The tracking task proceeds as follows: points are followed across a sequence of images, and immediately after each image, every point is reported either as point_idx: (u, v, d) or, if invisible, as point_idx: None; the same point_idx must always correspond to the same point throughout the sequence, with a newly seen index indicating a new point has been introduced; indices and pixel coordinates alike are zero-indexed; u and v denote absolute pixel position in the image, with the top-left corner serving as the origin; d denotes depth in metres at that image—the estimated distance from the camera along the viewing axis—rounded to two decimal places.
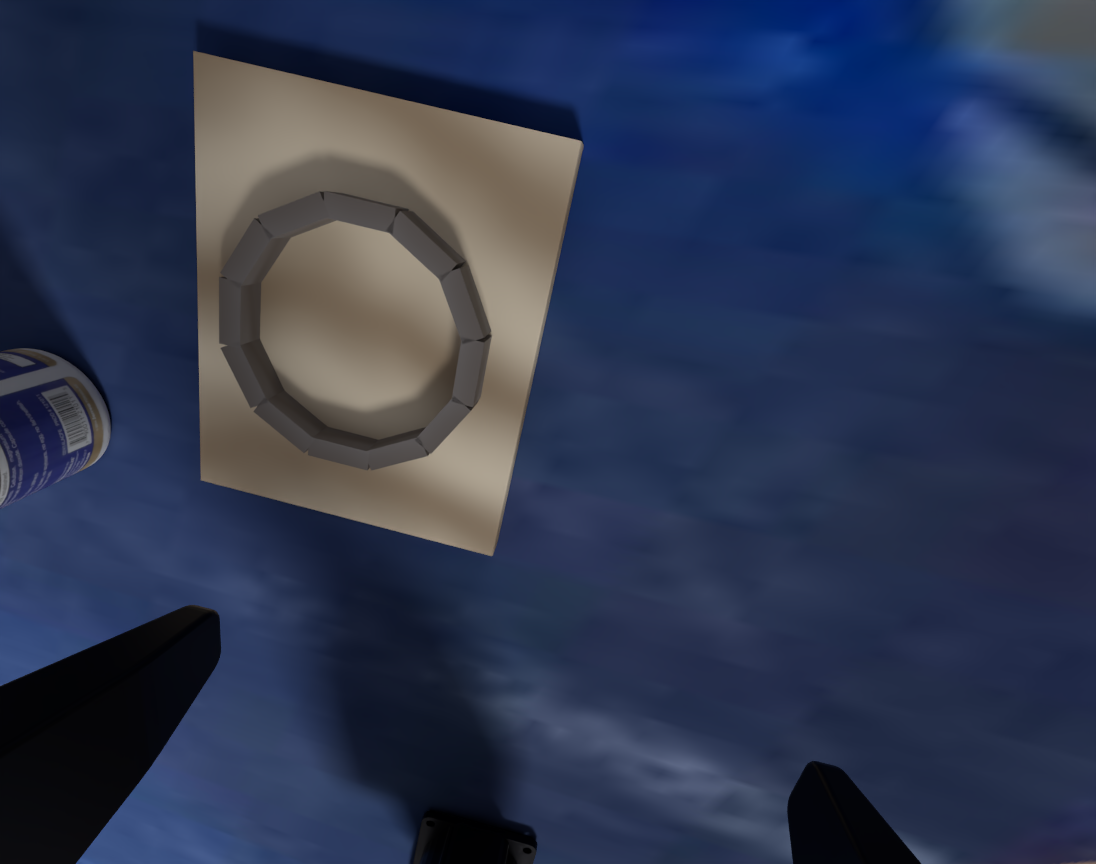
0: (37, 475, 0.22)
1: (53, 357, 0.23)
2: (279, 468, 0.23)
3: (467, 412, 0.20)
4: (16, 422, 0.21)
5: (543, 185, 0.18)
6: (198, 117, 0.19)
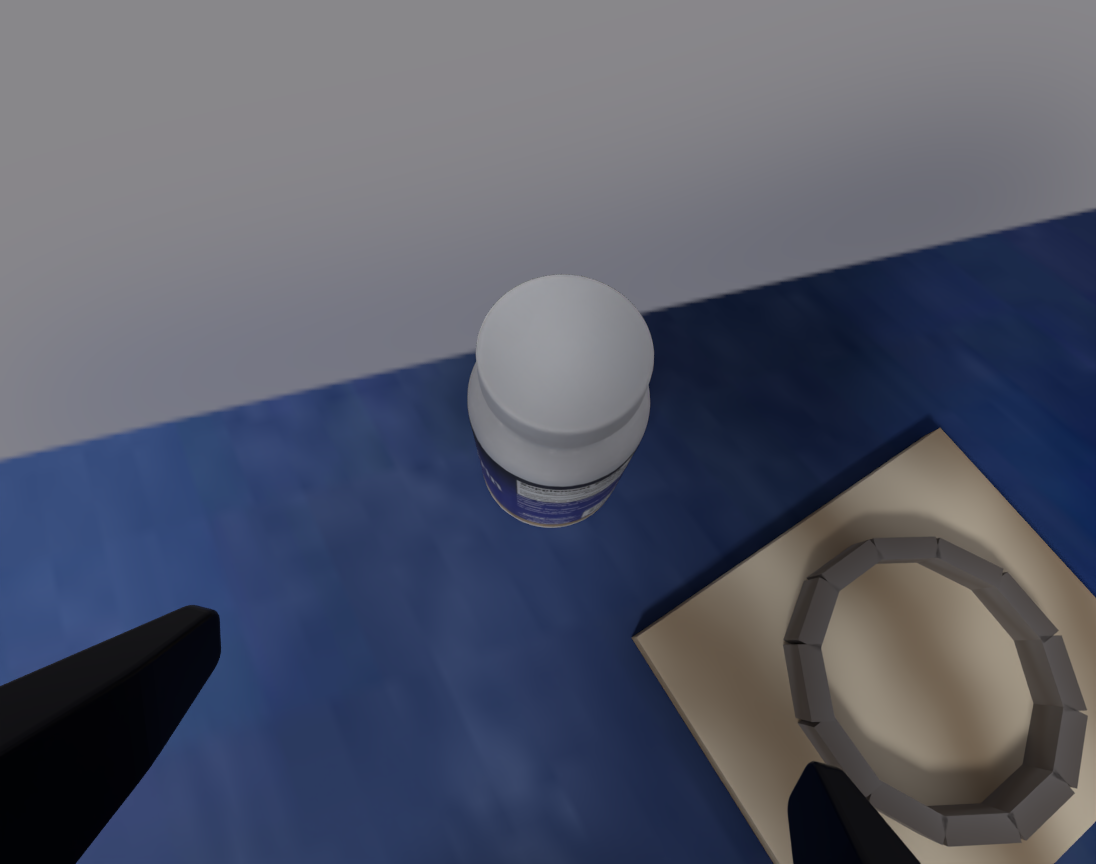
0: (574, 508, 0.19)
1: None
2: (729, 702, 0.20)
3: (1017, 841, 0.17)
4: None
5: None
6: (905, 450, 0.24)
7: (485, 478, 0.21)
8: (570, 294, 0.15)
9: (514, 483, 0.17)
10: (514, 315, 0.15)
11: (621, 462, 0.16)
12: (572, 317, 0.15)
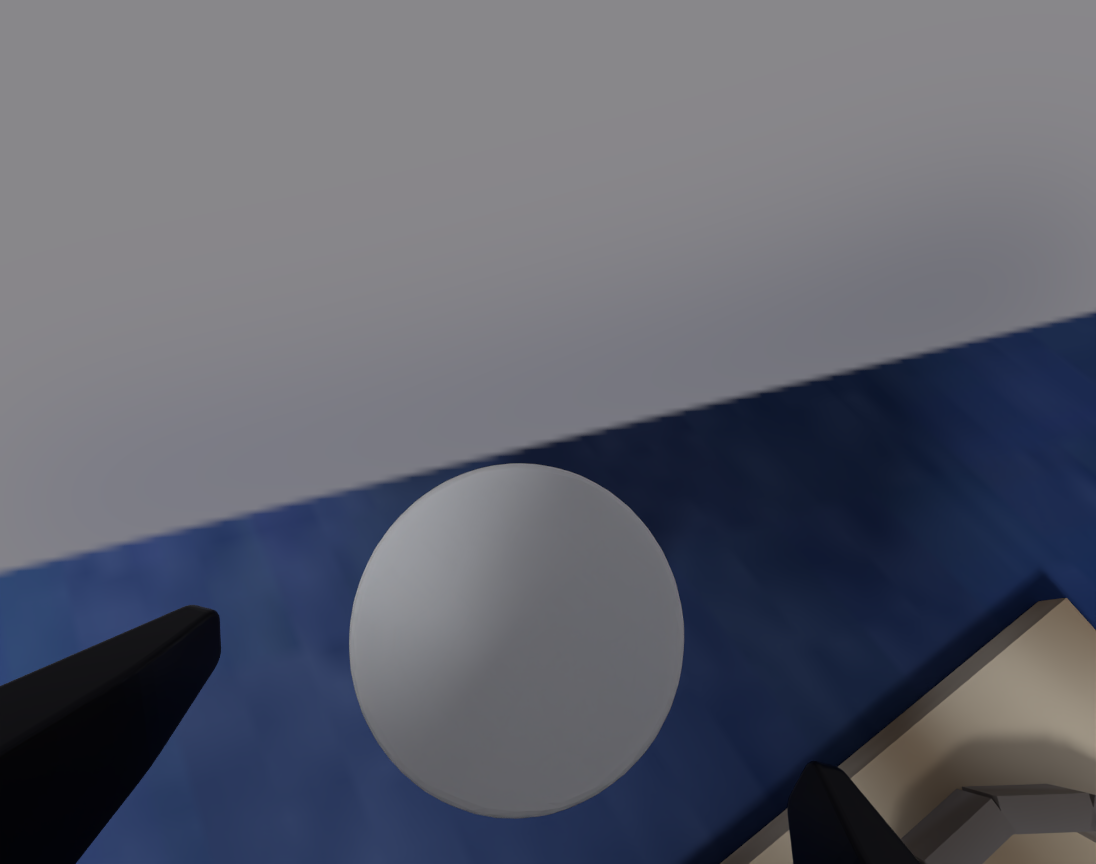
0: None
1: None
2: None
3: None
4: None
5: None
6: (1020, 632, 0.17)
7: None
8: (532, 505, 0.08)
9: None
10: (427, 549, 0.08)
11: None
12: (534, 552, 0.08)
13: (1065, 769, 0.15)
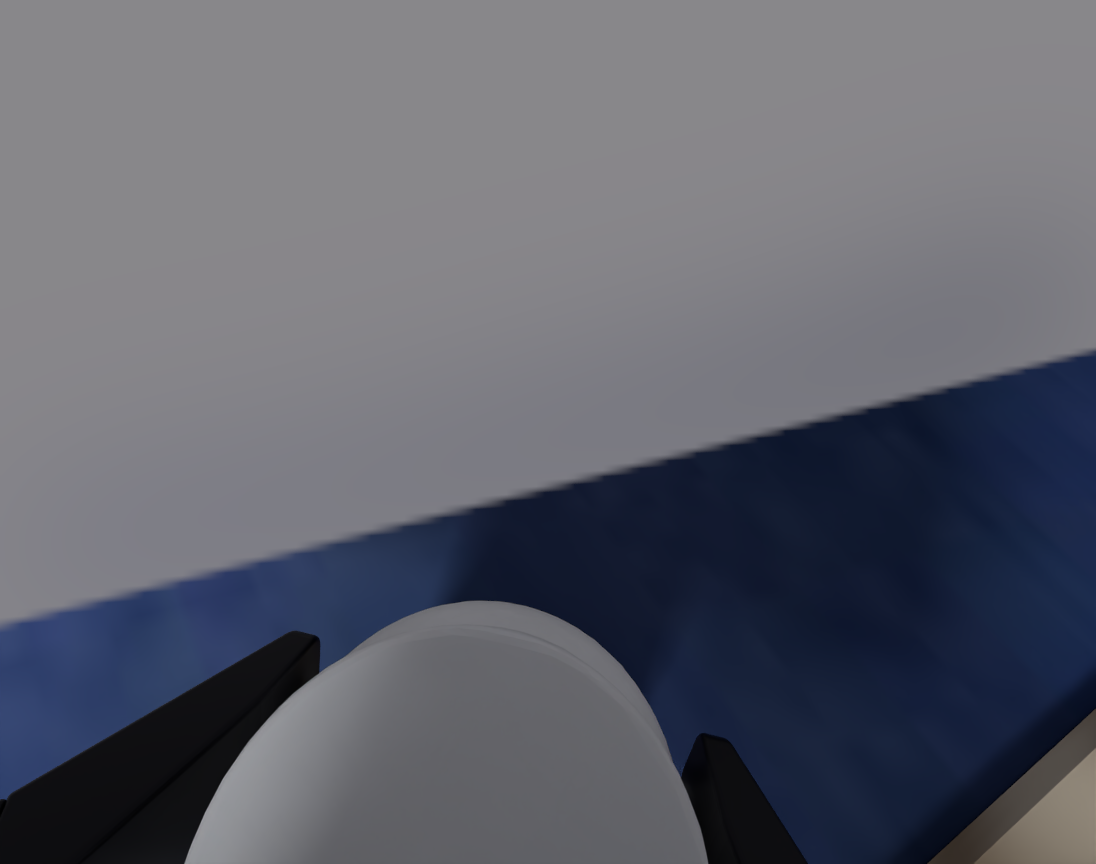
0: None
1: None
2: None
3: None
4: None
5: None
6: None
7: None
8: (476, 700, 0.05)
9: None
10: (304, 782, 0.05)
11: None
12: (475, 786, 0.05)
13: None
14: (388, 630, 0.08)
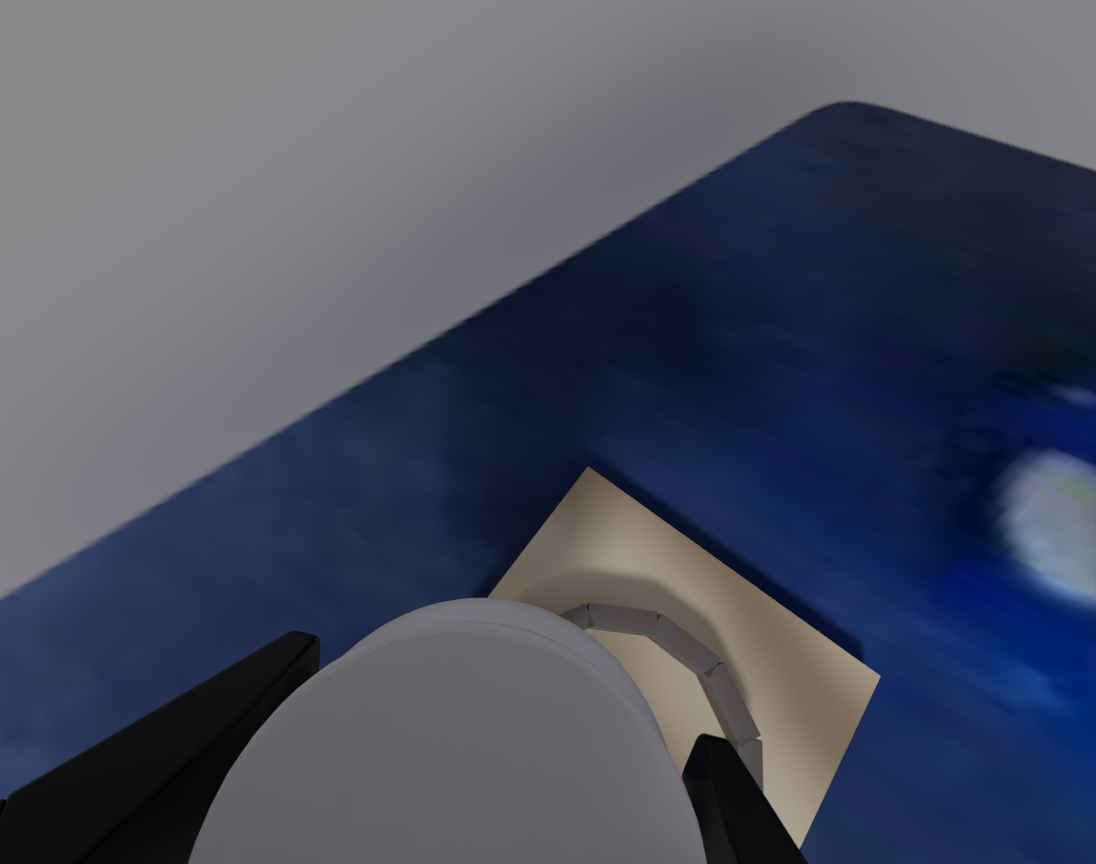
0: None
1: None
2: None
3: None
4: None
5: (839, 696, 0.20)
6: (559, 504, 0.22)
7: None
8: (477, 696, 0.05)
9: None
10: (308, 776, 0.05)
11: None
12: (477, 780, 0.05)
13: (593, 590, 0.21)
14: (388, 627, 0.08)
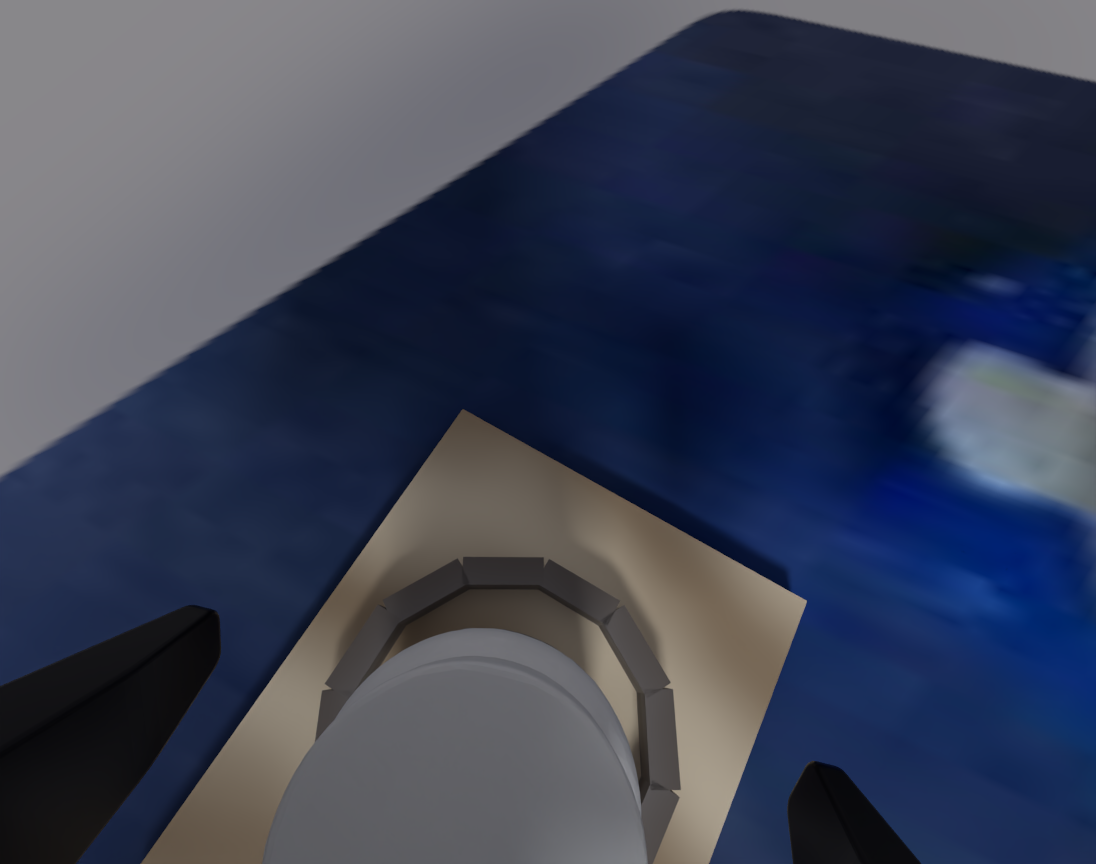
0: None
1: None
2: None
3: None
4: None
5: (762, 629, 0.17)
6: (432, 454, 0.19)
7: None
8: (476, 718, 0.07)
9: None
10: (352, 778, 0.07)
11: None
12: (477, 781, 0.07)
13: (475, 545, 0.18)
14: (405, 654, 0.10)
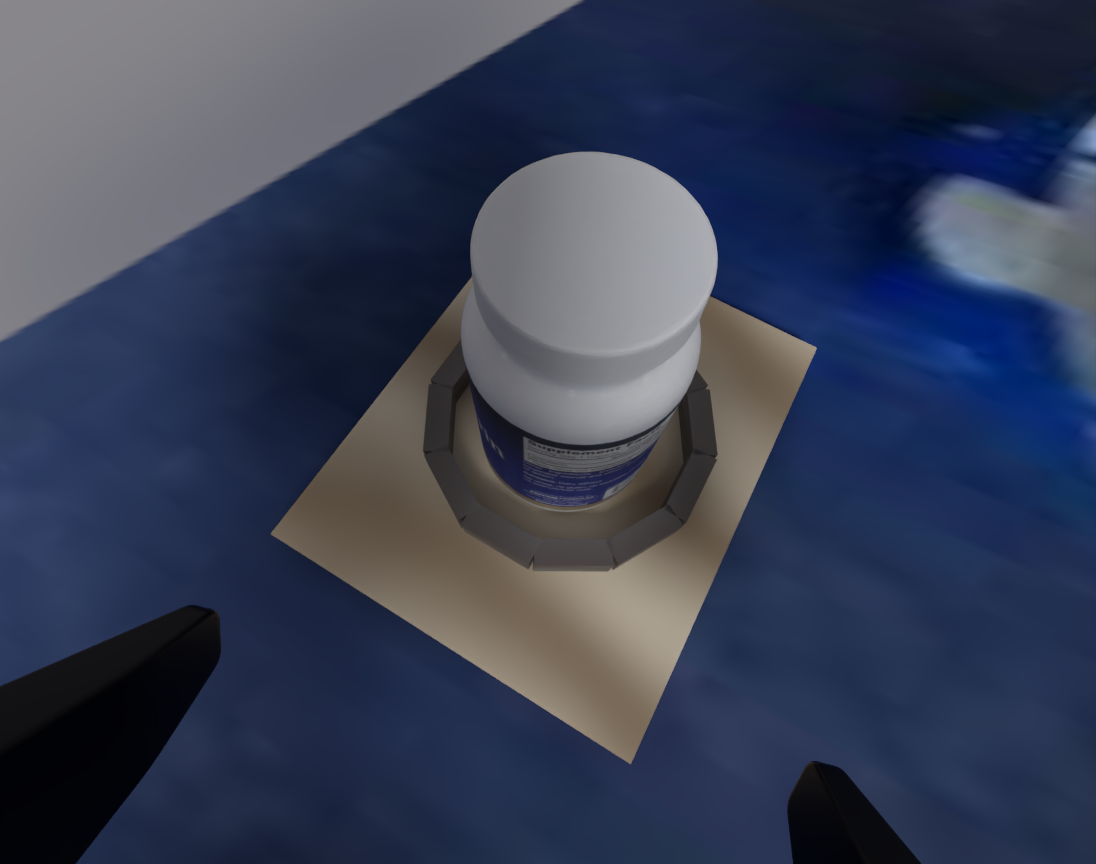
0: (596, 482, 0.15)
1: None
2: (389, 547, 0.18)
3: (679, 526, 0.17)
4: None
5: (780, 366, 0.21)
6: None
7: (484, 447, 0.17)
8: (601, 175, 0.11)
9: (520, 443, 0.13)
10: (524, 200, 0.11)
11: (663, 414, 0.12)
12: (604, 203, 0.11)
13: None
14: None
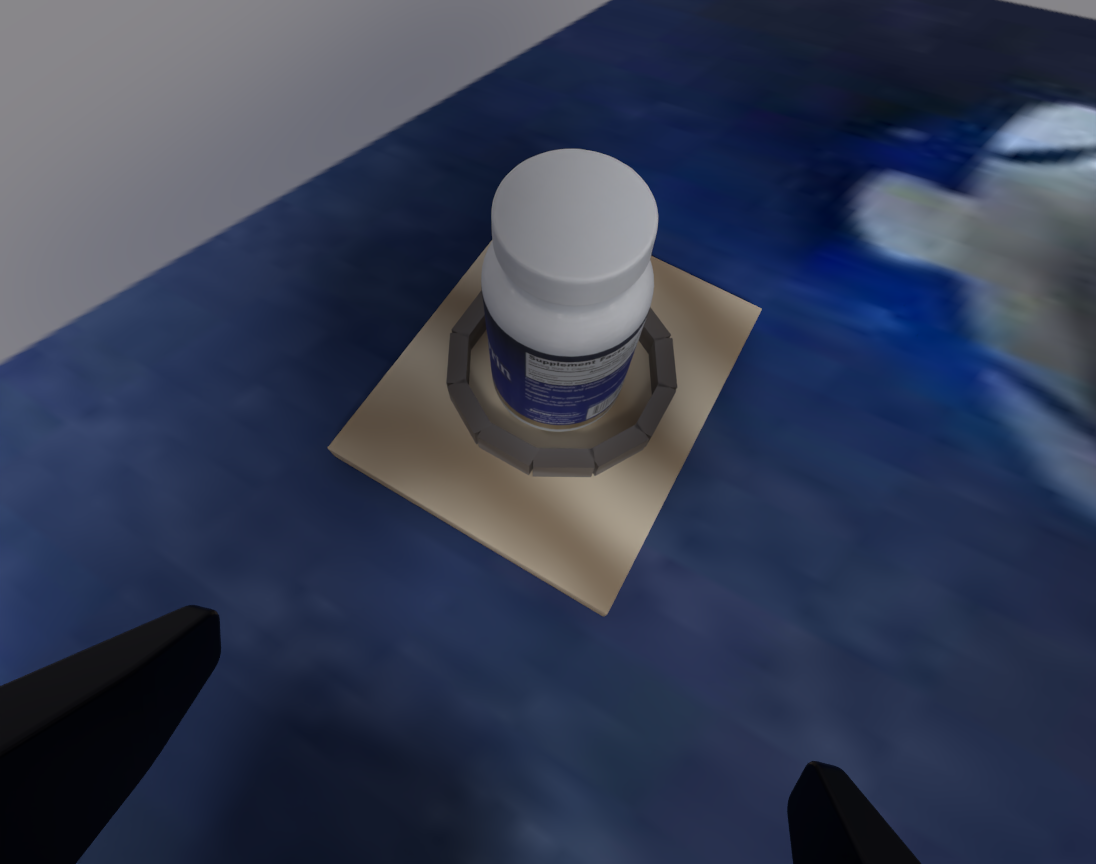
0: (579, 398, 0.20)
1: None
2: (420, 458, 0.23)
3: (645, 439, 0.22)
4: (630, 361, 0.21)
5: (732, 323, 0.26)
6: None
7: (495, 378, 0.22)
8: (581, 165, 0.16)
9: (523, 359, 0.18)
10: (528, 181, 0.16)
11: (625, 335, 0.17)
12: (582, 184, 0.16)
13: None
14: None
